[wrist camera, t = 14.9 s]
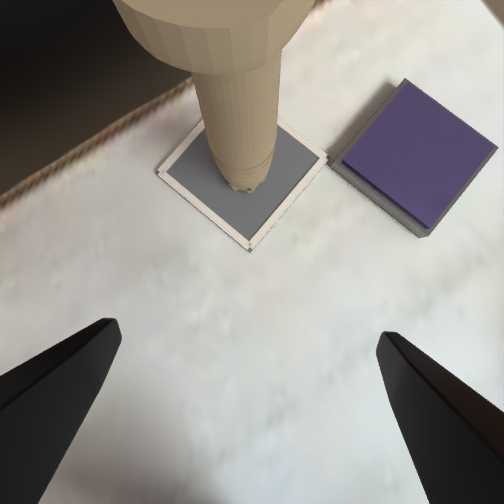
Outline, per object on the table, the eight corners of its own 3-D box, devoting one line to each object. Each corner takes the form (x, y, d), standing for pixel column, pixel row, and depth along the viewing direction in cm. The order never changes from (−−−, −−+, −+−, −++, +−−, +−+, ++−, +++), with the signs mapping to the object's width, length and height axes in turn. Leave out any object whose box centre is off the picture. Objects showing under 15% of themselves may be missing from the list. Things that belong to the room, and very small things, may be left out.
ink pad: (419, 238, 20) (431, 235, 18) (330, 167, 20) (335, 160, 19) (486, 153, 20) (502, 145, 19) (397, 87, 21) (407, 74, 19)
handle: (207, 207, 20) (57, 0, 5) (225, 131, 20) (144, -268, 5) (266, 220, 20) (304, 51, 5) (284, 144, 20) (369, -231, 5)
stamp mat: (250, 252, 20) (250, 252, 19) (156, 174, 20) (154, 172, 20) (329, 159, 20) (330, 156, 20) (235, 85, 21) (235, 82, 20)
